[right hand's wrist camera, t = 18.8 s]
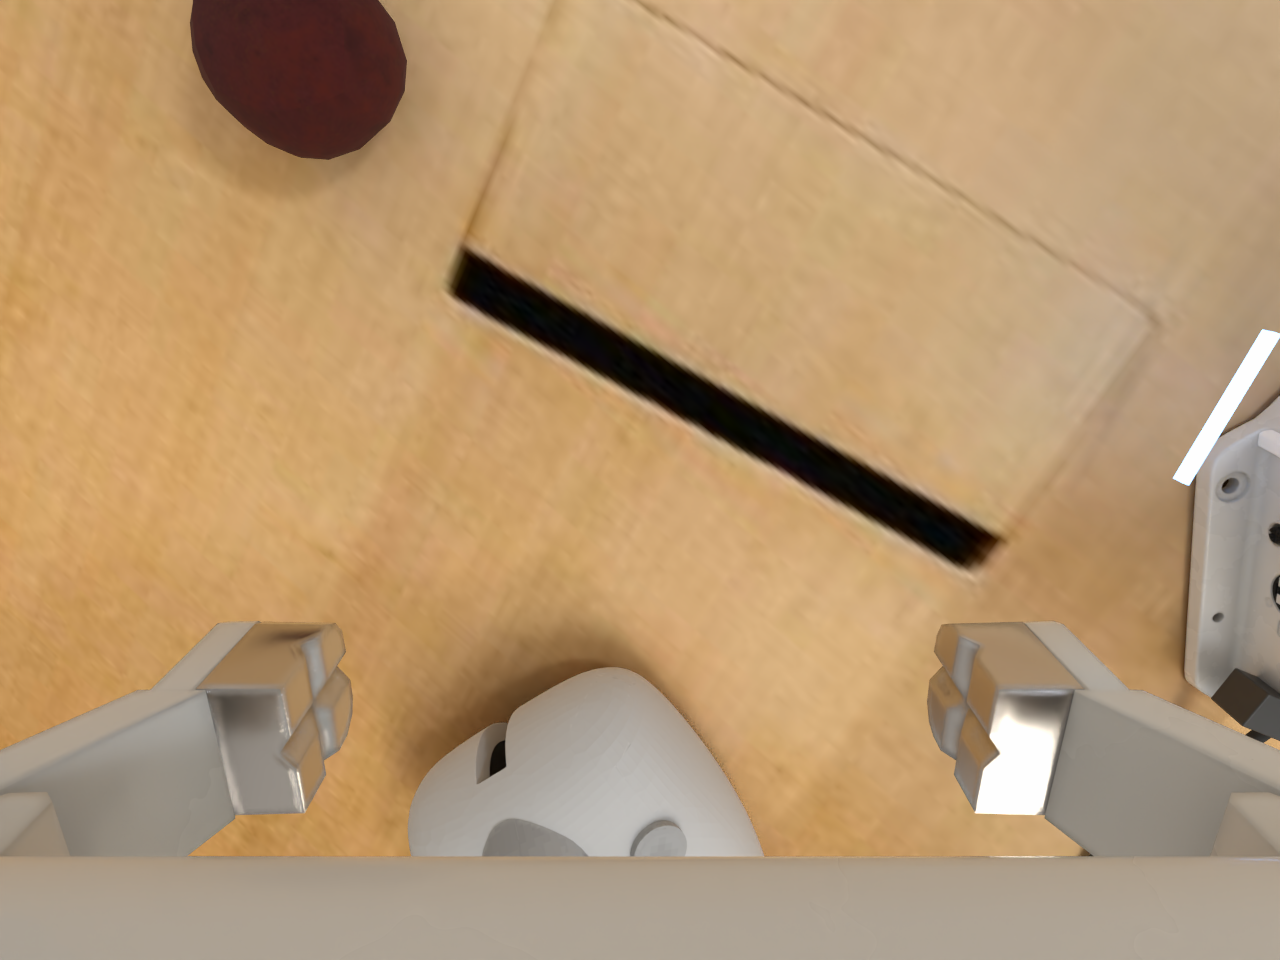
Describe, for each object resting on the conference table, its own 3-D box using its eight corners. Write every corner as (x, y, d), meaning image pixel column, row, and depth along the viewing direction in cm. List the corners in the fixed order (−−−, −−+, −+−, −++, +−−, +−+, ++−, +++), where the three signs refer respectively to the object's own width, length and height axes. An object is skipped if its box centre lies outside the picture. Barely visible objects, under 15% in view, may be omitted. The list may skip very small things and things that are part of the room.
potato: (233, -23, 32) (128, -81, 26) (415, -27, 32) (356, -87, 26) (266, 164, 35) (178, 156, 28) (434, 161, 35) (386, 151, 28)
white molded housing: (428, 915, 51) (349, 1180, 37) (434, 617, 43) (337, 813, 29) (754, 942, 52) (795, 1211, 38) (819, 655, 44) (900, 863, 30)
